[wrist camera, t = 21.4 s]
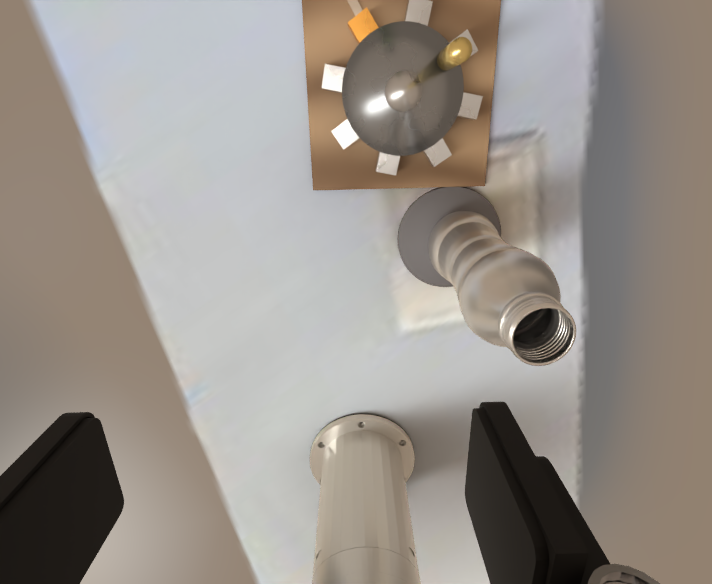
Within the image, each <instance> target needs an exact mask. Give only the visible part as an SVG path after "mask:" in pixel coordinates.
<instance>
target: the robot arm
mask: <svg viewBox="0 0 712 584" xmlns="http://www.w3.org/2000/svg"><path fill="white" fill-rule="evenodd" d="M414 462H415V457H414V450H413V446H412V443H411V441H410V438H409V436H408V435H407V434H406V433H405V431H404V430H403V429H402V428H400V427H399V426H398V425H397V424H395V423H393V422H392V421H390V420H388V419H385V418H382V417H379V416H374V415H365V414H358V415H351V416H346V417H343V418H340V419H338V420H336V421H334V422H332V423H330V424H329V425H327V426H326V427H325V428H323V429H322V430H321V431H320V433H319V434H318V435H317V436H316V438H315V440H314V442H313V444H312V448H311V452H310V468H311V471H312V474H313V476H314V477H315V479H316V481H317V482H318V483H319V484H320V485H321V487H320V499H319V511H318V522H317V534H316V546H315V558H314V569H313V580H312V584H421V583H420V577H419V571H418V564H417V557H416V551H415V544H414V537H413V531H412V524H411V517H410V511H409V504H408V497H407V491H406V484H405V483H406V481H407V480H408V478H409V477H410V476H411V473H412V471H413V468H414ZM465 498H466V503H467V507H468V511H469V514H470V517H471V520H472V524H473V527H474V530H475V534H476V537H477V540H478V544H479V547H480V550H481V554H482V557H483V560H484V564H485V567H486V570H487V573H488V577H489V580H490V583H491V584H660V583H659V582H658V581H656V580H654V579H653V578H651V577H650V576H648V575H647V574H645V573H644V572H641V571H639V570H637V569H634V568H632V567H629V566H624V565H619V564H610V563H609V561H608V559H607V558H606V556H605V554H604V552H603V551H602V549H601V547H600V546H599V544H598V542H597V541H596V539H595V537H594V536H593V534H592V532H591V530H590V529H589V527H588V525H587V524H586V522H585V520H584V518H583V517H582V515H581V513H580V512H579V510H578V508H577V506H576V505H575V503H574V501H573V500H572V498H571V496H570V495H569V493H568V491H567V489H566V488H565V486H564V484H563V483H562V481H561V479H560V478H559V476H558V474H557V472H556V471H555V469H554V467H553V466H552V464H551V463H550V461H549V460H548V459H547V458H546V457H544V456H539V457H536V456H535V455H534V453H533V451H532V449H531V447H530V446H529V444H528V442H527V440H526V438H525V437H524V435H523V433H522V431H521V429H520V427H519V426H518V424H517V422H516V420H515V418H514V417H513V415H512V413H511V411H510V409H509V408H508V406H507V404H506V403H505V402H482V403H481V404H480V408H476V409H473V412H472V421H471V432H470V442H469V453H468V463H467V474H466V484H465ZM123 505H124V498H123V494H122V490H121V487H120V484H119V481H118V477H117V474H116V471H115V467H114V464H113V461H112V457H111V454H110V451H109V447H108V444H107V441H106V438H105V434H104V431H103V427H102V424H101V422H100V420H99V419H98V418H95V417H94V415H93V414H92V413H89V412H84V413H83V412H80V413H65V414H62V415H61V416H60V417H59V418H58V419H57V420H56V421H55V422H54V423H53V424H52V425H51V426H50V427H49V428H48V429H47V430H46V431H45V432H44V433H43V434H42V435H41V436H40V437H39V438H38V439H37V440H36V441H35V442H34V443H33V444H32V445H31V446H30V447H29V448H28V449H27V450H26V451H25V452H24V453H23V454H22V455H21V456H20V457H19V458H18V459H17V460H16V461H15V462H14V463H13V464H12V465H11V466H10V467H9V468H8V469H7V470H6V471H5V472H4V473H3V474H2V475H1V476H0V584H80V582H81V580H82V579H83V577H84V575H85V574H86V572H87V570H88V568H89V567H90V565H91V563H92V561H93V560H94V558H95V557H96V555H97V553H98V552H99V550H100V548H101V546H102V545H103V543H104V541H105V540H106V538H107V536H108V535H109V533H110V531H111V530H112V528H113V526H114V524H115V523H116V521H117V519H118V518H119V516H120V514H121V512H122V509H123Z"/></svg>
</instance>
